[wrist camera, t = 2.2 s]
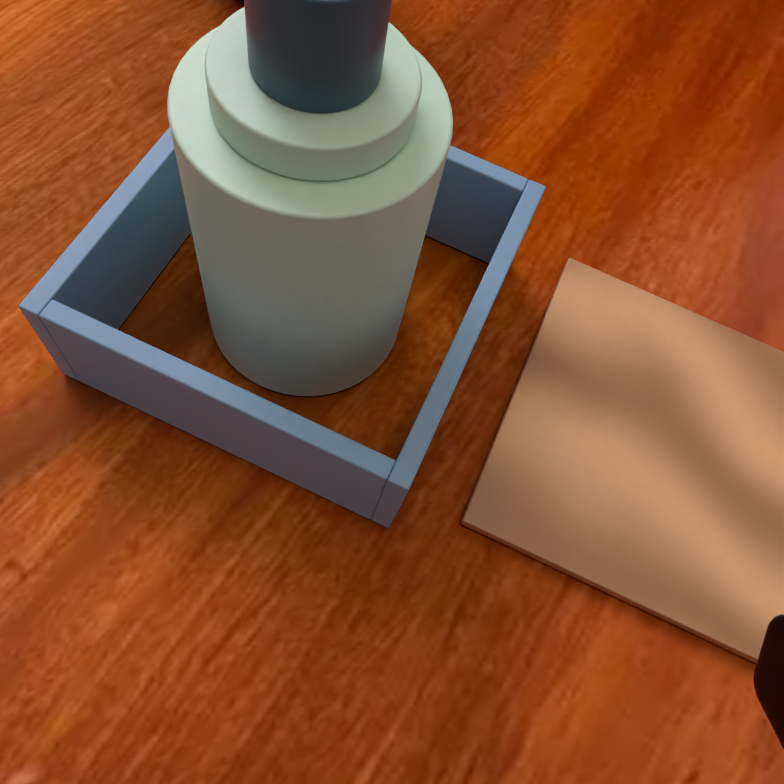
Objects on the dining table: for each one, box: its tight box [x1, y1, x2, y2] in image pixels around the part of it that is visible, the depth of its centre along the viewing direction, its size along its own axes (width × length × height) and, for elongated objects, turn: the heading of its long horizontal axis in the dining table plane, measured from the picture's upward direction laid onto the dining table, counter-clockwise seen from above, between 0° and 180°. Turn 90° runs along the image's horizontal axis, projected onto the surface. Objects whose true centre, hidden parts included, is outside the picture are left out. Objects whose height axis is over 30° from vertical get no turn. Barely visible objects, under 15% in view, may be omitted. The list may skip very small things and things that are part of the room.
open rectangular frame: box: [19, 127, 545, 528], centre depth 22 cm, size 11×11×4 cm
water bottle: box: [167, 0, 453, 396], centre depth 18 cm, size 6×6×12 cm
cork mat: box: [460, 258, 784, 664], centre depth 23 cm, size 11×11×1 cm
